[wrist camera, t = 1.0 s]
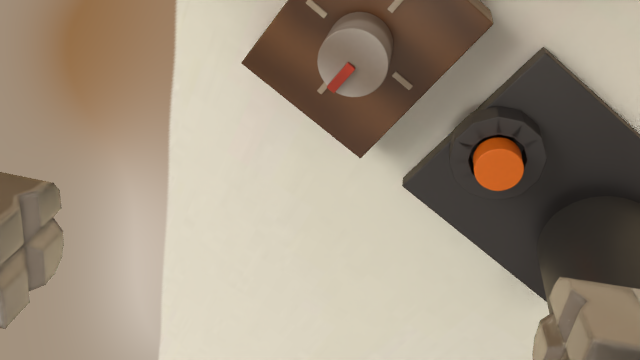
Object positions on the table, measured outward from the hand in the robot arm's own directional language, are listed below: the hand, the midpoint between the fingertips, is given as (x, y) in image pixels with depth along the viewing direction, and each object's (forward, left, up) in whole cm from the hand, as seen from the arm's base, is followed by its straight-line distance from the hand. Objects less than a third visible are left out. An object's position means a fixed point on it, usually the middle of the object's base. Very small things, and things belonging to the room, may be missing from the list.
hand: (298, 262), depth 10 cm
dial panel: (+5, +1, -31) cm, 32 cm away
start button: (+5, +13, -28) cm, 32 cm away
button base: (+5, +18, -31) cm, 36 cm away
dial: (+5, +1, -28) cm, 29 cm away
